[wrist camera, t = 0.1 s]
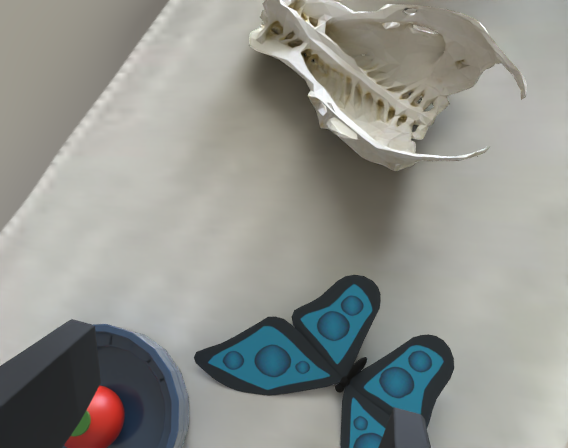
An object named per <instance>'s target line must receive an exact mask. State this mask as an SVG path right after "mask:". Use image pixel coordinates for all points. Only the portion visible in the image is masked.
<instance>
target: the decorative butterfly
mask: <svg viewBox="0 0 568 448" xmlns="http://www.w3.org/2000/svg"><path fill="white" fill-rule="evenodd" d="M379 308H380V292H379V289H378V287H377V285H376V284H375V283H374V282H373V281H372V280H370V279H368V278H366V277H364V276H359V275H351V276H345V277H344V278H342V279H340V280H338V281H337V282H336V283H335V284H334V285H333V286H331V287H330V288H329V289H328V290H327V291H326V292H325V293H324V294H323V295H322V296H321V297H319V298H317V299H316V300H314V301H312V302H310V303H308V304H306V305H304V306H301V307H300V308H298V309H296V310H294V312H293V315H292V322H293V325H294V326H292V325H291V324H290V323H288V322H287V321H286V320H284V319H282V318H278V317H267V318H266V319H264V320H262V321H261V322H259V323H257V324H256V325H254V326H252V327H250V328H249V329H247V330H245V331H244V332H242V333H240V334H239V335H237V336H235V337H233V338H231V339H229V340H227V341H225V342H223V343H221V344H218V345H215V346H212V347H209V348H206V349H203V350H201V351H198V352H196V354H195V356H194V359H195V362H196V363H197V364H198V365H199V366H200V367H201V368H202V369H203V370H204V371H205V372H206V373H208V374H209V375H210V376H211V377H212V378H214V379H215V380H217V381H218V382H220V383H221V384H223V385H225V386H227V387H229V388H232V389H234V390H238V391H242V392H247V393H254V394H262V395H278V394H287V393H294V392H300V391H306V390H311V389H317V388H323V387H328V386H331V385H333V384H336V383H339V382H340V383H339V384H337V385H336V386H335V390H336V391H337V392H342V391H343V389H344V387H345V390H344V395H343V400H342V422H341V448H378V447H379V445H380V442H381V439H382V437H383V434H384V431H385V429H386V426H387V423H388V421H389V418H390V415H391V413H392V410H393V407H396V408H399V409H403V410H407V411H410V412H414V413H418V414H421V415H422V416H423V418H424V419H425V424H426V429H427V427H428V424H429V421H430V417H431V413H432V410H433V407H434V404H435V402H436V399H437V397H438V396H439V394H440V393H441V391H442V390H443V388H444V387H445V385H446V384H447V383H448V381H449V380H450V378H451V375H452V373H453V370H454V358H453V355H452V353H451V350H450V348H449V347H448V346H447V344H446V343H445V342H444V341H443V340H442V339H440V338H438V337H437V336H433V335H420V336H417V337H413V338H412V339H410V340H409V341H407V342H406V343H404V344H403V345H401V346H400V347H399V348H397V349H396V350H394V351H392V352H391V353H389V354H388V355H386V356H385V357H383V358H382V359H380V360H378V361H377V362H375V363H374V364H372V365H370V366H369V367H367V368H365V369H363V368H364V366H365V364H366V362H367V358H366V357H363V358H361V359H360V360H358V361H357V362H356V363H355V364H354V362H355V360H356V357H357V355H358V353H359V350H360V348H361V346H362V344H363V341H364V339H365V337H366V335H367V333H368V331H369V329H370V327H371V325H372V322H373V320H374V318H375V316H376V314H377V312H378V310H379ZM353 364H354V365H353ZM362 369H363V370H362ZM361 370H362V371H361Z"/></svg>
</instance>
